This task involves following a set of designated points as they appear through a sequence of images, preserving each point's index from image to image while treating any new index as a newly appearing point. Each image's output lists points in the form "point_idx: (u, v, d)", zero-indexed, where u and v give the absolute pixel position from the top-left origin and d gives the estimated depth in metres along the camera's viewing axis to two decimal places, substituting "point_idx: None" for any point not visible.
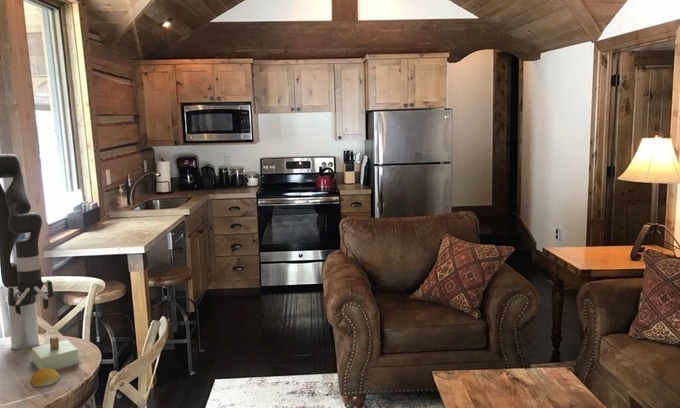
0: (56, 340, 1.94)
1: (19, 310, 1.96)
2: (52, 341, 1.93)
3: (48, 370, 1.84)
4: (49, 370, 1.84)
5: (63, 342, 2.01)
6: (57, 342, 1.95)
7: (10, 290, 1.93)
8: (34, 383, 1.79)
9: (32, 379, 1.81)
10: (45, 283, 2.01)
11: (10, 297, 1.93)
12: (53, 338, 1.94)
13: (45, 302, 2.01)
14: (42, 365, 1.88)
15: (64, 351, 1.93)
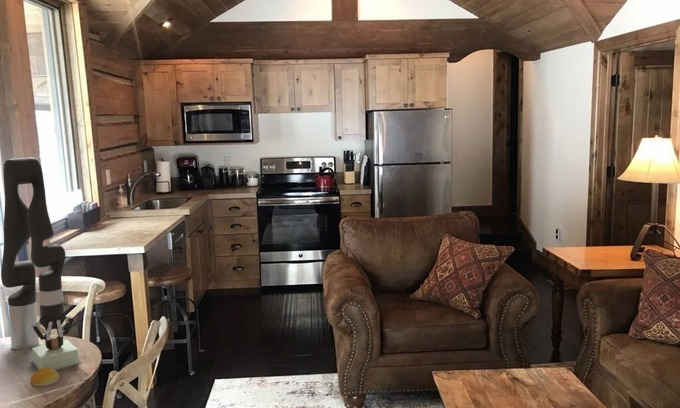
0: (56, 340, 1.94)
1: (49, 345, 1.93)
2: (52, 341, 1.93)
3: (48, 370, 1.84)
4: (49, 370, 1.84)
5: (63, 342, 2.01)
6: (57, 342, 1.95)
7: (34, 329, 1.89)
8: (34, 383, 1.79)
9: (32, 379, 1.81)
10: (67, 318, 1.97)
11: (38, 334, 1.90)
12: (53, 338, 1.94)
13: (60, 340, 1.95)
14: (42, 365, 1.88)
15: (64, 351, 1.93)
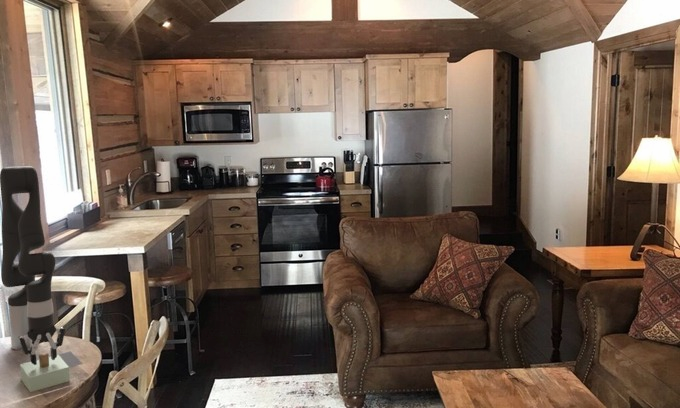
0: (46, 357, 1.81)
1: (35, 360, 1.79)
2: (41, 357, 1.80)
3: None
4: None
5: None
6: (47, 359, 1.81)
7: (21, 341, 1.76)
8: None
9: None
10: (58, 330, 1.84)
11: (23, 347, 1.76)
12: (43, 354, 1.81)
13: (53, 352, 1.83)
14: (30, 384, 1.75)
15: (55, 369, 1.80)
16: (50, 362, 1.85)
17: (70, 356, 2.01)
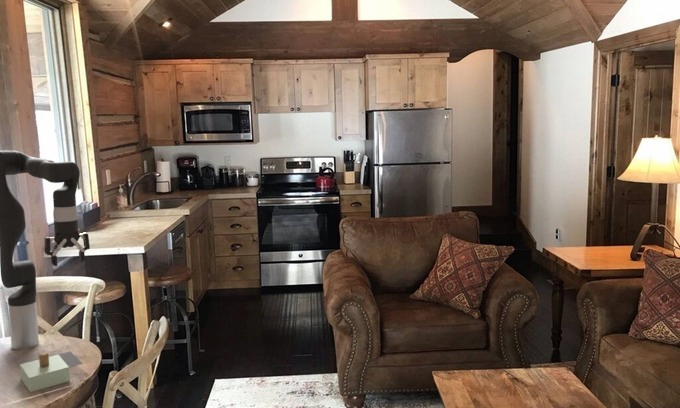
0: (46, 357, 1.81)
1: (56, 261, 1.90)
2: (41, 357, 1.80)
3: None
4: None
5: (54, 358, 1.88)
6: (47, 359, 1.81)
7: (47, 240, 1.88)
8: None
9: None
10: (81, 235, 1.96)
11: (47, 247, 1.88)
12: (43, 354, 1.81)
13: (81, 255, 1.96)
14: (30, 384, 1.75)
15: (55, 369, 1.80)
16: (50, 362, 1.85)
17: (70, 356, 2.01)
